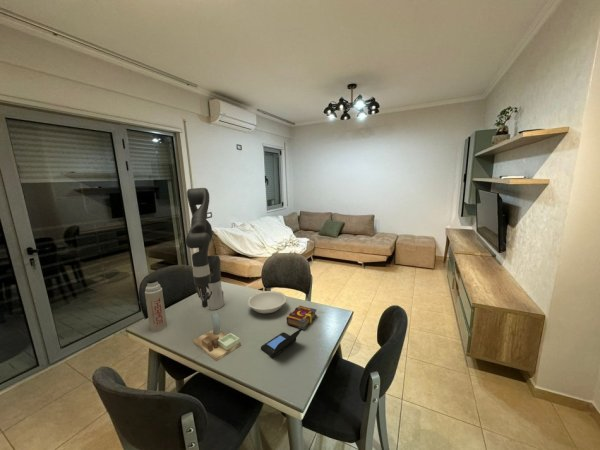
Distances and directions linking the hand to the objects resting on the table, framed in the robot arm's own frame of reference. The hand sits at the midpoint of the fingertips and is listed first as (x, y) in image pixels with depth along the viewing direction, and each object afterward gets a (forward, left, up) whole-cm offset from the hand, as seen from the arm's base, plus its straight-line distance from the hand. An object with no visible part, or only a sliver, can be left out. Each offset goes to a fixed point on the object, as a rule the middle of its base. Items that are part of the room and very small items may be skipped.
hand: (205, 306), depth 121 cm
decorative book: (-42, +28, -17) cm, 53 cm away
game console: (-17, +35, -17) cm, 43 cm away
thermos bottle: (+12, -29, -17) cm, 36 cm away
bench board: (0, +8, -17) cm, 19 cm away
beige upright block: (+3, +8, -16) cm, 18 cm away
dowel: (-4, +2, -16) cm, 16 cm away
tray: (-3, +15, -16) cm, 21 cm away
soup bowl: (-38, +4, -17) cm, 42 cm away
